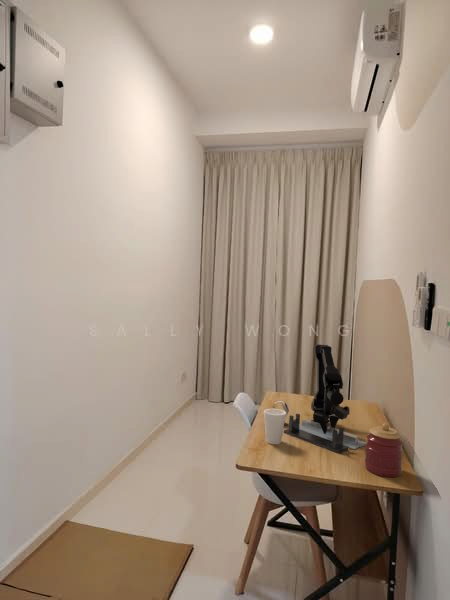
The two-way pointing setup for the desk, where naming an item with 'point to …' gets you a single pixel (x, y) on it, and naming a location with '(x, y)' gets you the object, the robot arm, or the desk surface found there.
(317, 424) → the rail
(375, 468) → the canister
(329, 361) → the robot arm
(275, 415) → the foam cup
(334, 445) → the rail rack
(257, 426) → the desk surface
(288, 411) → the watch
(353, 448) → the mat
